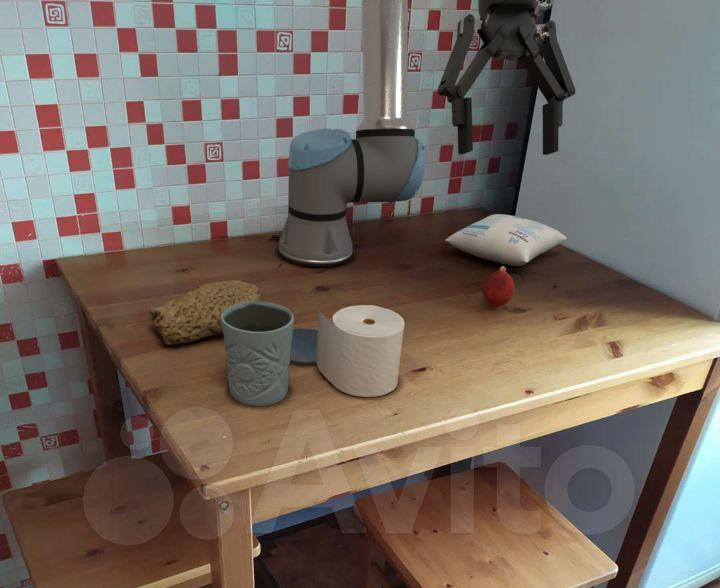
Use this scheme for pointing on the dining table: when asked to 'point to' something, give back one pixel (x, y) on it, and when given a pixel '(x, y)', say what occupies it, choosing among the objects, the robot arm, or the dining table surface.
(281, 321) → the embossed green cup
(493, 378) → the dining table surface
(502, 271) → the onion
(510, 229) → the pouch
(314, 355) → the coaster
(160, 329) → the sponge
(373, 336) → the toilet tissue
